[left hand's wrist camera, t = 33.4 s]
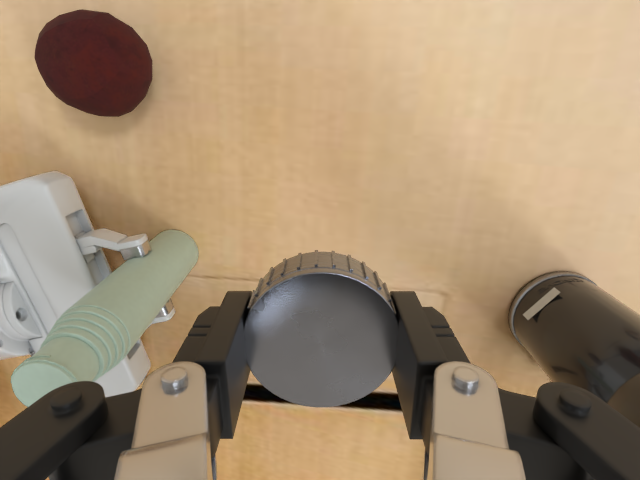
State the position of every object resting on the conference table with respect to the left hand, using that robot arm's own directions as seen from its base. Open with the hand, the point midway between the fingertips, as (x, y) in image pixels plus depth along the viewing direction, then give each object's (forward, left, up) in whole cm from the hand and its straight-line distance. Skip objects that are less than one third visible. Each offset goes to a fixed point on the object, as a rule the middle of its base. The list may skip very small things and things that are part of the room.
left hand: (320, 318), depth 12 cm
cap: (0, 0, +1) cm, 1 cm away
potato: (+14, +13, -25) cm, 32 cm away
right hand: (-3, +15, -19) cm, 25 cm away
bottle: (-3, +16, -25) cm, 30 cm away
